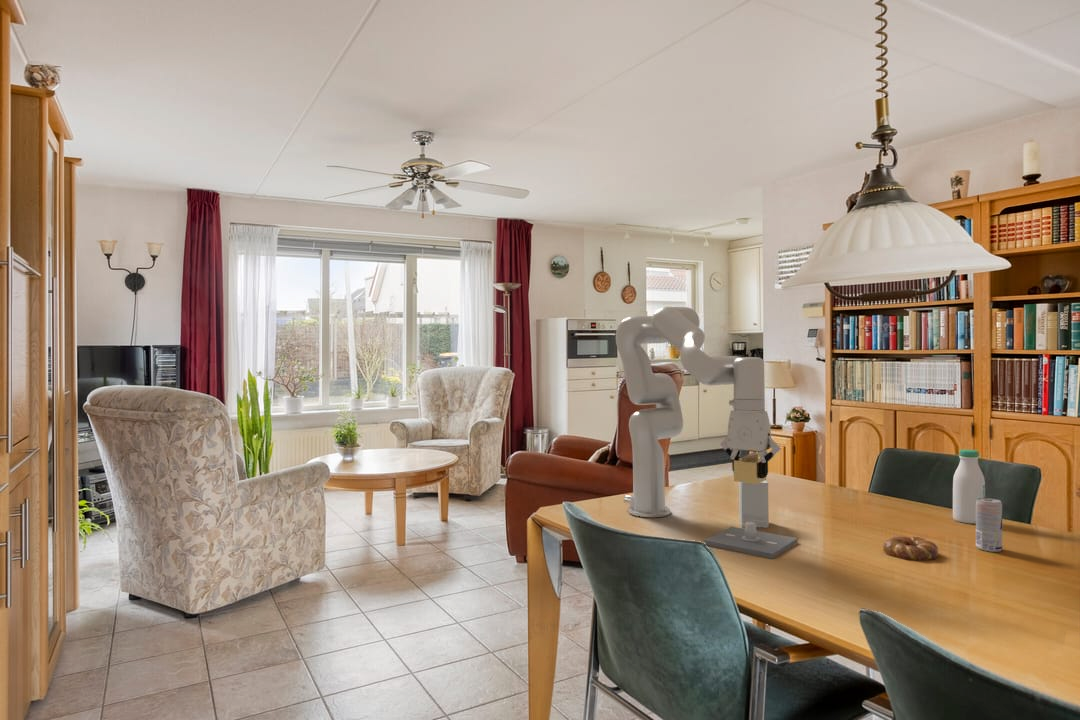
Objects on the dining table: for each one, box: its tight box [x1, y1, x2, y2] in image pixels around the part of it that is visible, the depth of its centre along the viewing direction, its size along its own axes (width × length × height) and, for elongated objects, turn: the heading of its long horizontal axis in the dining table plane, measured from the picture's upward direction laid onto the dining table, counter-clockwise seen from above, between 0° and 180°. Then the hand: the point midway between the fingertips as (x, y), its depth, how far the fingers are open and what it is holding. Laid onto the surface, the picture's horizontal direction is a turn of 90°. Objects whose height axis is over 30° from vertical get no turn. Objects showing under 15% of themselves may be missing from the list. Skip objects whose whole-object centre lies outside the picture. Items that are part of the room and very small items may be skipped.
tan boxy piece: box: [733, 452, 767, 484], centre depth 170 cm, size 7×6×6 cm
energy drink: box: [975, 497, 1003, 553], centre depth 163 cm, size 5×5×12 cm
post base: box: [703, 522, 799, 560], centre depth 170 cm, size 18×16×5 cm
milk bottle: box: [952, 448, 986, 525], centre depth 187 cm, size 8×8×20 cm
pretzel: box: [882, 535, 939, 561], centre depth 160 cm, size 12×11×4 cm
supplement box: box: [738, 479, 770, 529], centre depth 188 cm, size 7×7×13 cm
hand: (750, 475), depth 170 cm, fingers closed on tan boxy piece, 6 cm apart
